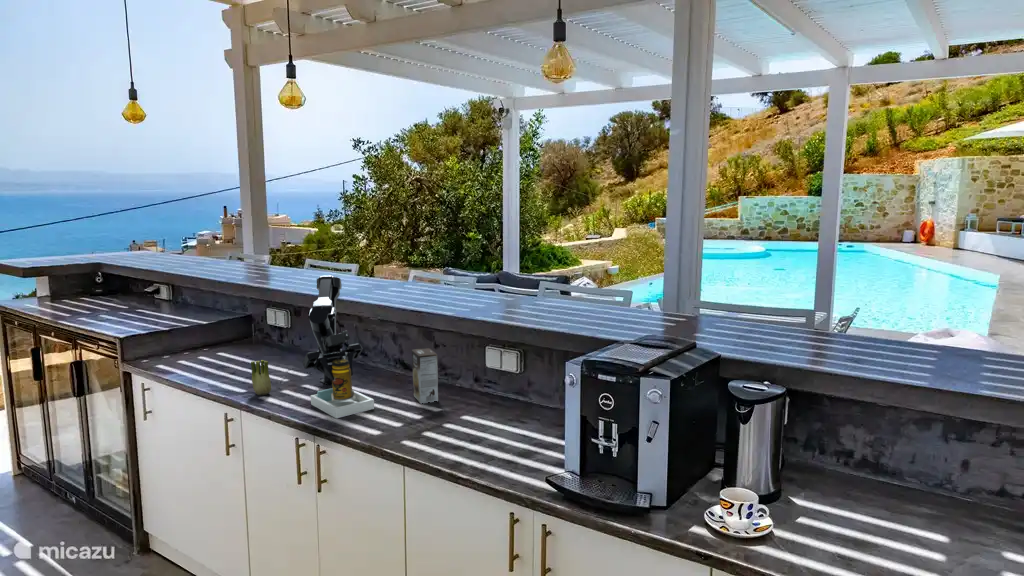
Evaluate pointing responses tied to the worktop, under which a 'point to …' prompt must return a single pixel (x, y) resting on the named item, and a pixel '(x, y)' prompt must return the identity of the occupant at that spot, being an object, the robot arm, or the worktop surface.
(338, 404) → the pale mint tray
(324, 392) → the plate
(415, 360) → the coffee box
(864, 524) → the worktop surface
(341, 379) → the condiment
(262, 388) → the fennel bulb
